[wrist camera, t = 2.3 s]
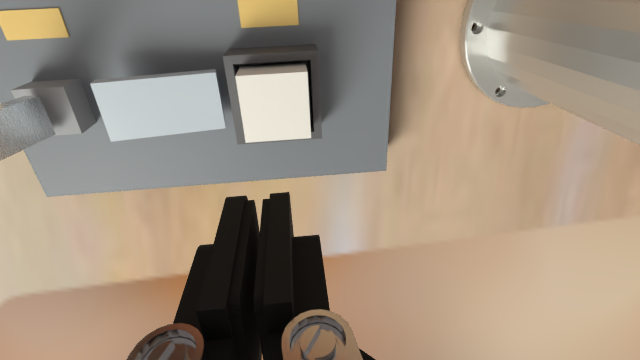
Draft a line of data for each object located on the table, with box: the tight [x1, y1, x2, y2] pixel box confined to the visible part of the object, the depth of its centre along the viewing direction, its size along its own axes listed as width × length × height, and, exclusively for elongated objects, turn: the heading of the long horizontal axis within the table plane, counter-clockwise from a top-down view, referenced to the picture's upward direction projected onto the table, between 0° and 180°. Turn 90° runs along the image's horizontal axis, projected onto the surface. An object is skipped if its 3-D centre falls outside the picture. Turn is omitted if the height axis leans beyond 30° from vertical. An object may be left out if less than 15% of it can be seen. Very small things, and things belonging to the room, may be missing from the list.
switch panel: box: [0, 0, 396, 197], centre depth 24 cm, size 26×14×6 cm, turn 92°
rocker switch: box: [90, 69, 226, 142], centre depth 22 cm, size 7×4×1 cm, turn 92°
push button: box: [235, 63, 311, 143], centre depth 22 cm, size 4×4×2 cm
